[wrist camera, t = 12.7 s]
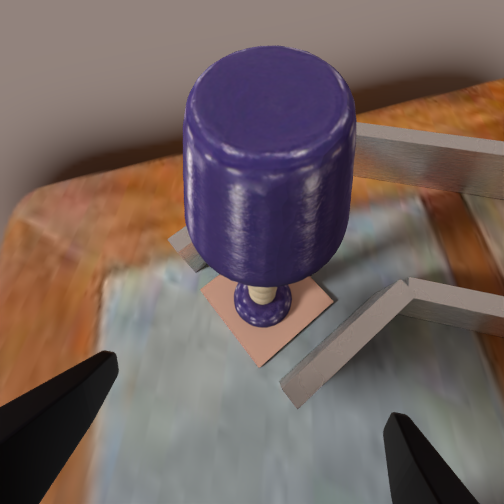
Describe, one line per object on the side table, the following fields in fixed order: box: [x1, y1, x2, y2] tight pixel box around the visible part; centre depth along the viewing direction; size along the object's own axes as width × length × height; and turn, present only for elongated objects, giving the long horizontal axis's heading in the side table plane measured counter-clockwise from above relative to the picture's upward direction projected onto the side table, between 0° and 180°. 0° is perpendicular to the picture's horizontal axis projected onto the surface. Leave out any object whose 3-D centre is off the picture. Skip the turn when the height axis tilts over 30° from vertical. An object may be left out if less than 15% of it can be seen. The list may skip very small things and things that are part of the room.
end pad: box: [200, 275, 334, 368], centre depth 20 cm, size 7×7×1 cm
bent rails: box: [168, 122, 504, 409], centre depth 19 cm, size 18×27×4 cm, turn 103°
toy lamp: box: [183, 46, 356, 328], centre depth 12 cm, size 5×5×17 cm
